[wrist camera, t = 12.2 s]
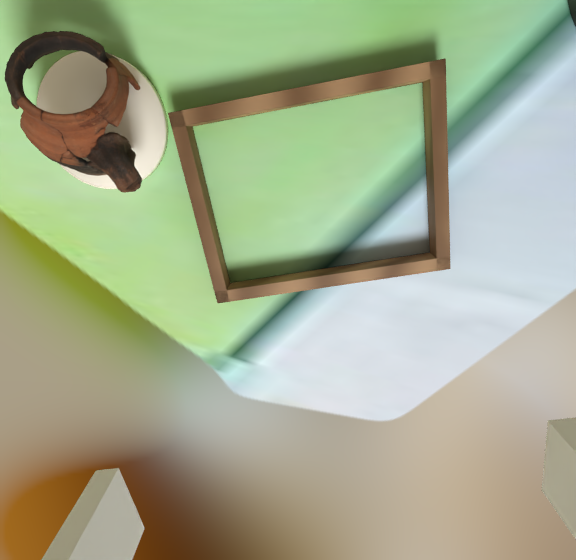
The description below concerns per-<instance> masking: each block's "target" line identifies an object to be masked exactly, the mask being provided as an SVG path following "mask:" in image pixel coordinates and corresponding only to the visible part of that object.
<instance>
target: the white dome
mask: <svg viewBox="0 0 576 560" xmlns="http://www.w3.org/2000/svg"><path fill="white" fill-rule="evenodd" d="M110 55H112V54H110ZM112 56H114V55H112ZM114 57H116V56H114ZM116 58H117V59H118V60H119V62H121V63H123V64H124V65H125V66H126V67H127V69H128V70H129V71H130V72H131V74H132V75H133V76H134V78H135V79H136V81H137V82H138V84H139V86H140V90H136V89H135V88H134V87H133V86H132V85H131V84H130V82H129V95H128V100H127V106H126V109H125V112H124V114H123V117H122V119H121V122H120V124H119V126H118V127H115V126H113V125H111V124H108V125H107V127H106V130H105V134H106V133H109V132H115V133H118V134H120V135H122V136H124V137H126V138H127V139H128V141H129V144H130V145H131V149H132V150H133V151H134V152H135V154H136V157H135V162H134V165H135V168H136V169H137V171H138V172H139V174H140V176H141V177H142V181H143V180H144V179H146V178H147V177H149V176H150V175H151V174H152V173H153V172H154V171H155V170H156V168H157V167H158V166H159V164H160V162H161V161H162V158H163V156H164V154H165V151H166V147H167V142H168V121H167V116H166V111H165V108H164V105H163V103H162V100H161V98H160V96H159V94H158V92H157V91H156V89H155V87H154V86H153V85H152V83H151V82H150V81H149V79H148V78H147V77H146V76H145V75H144V74H143V73H142V72H141V71H139V70H138V69H137V68H136V67H135V66H133V65H132V64H130V63H128V62H127V61H125V60H123V59H121V58H119V57H116ZM107 68H108V67H107V65H106V64H105V63H103V62H101V61H100V60H98V59H97V58H96V57H94V56H92V55H91V54H89V53H87V52H83V51H78V52H74V53H71V54H68V55H66V56H64V57H62V58H61V59H60V60H58V61H57V62H55V63H54V64H53V66H52V67H51V68H50V69H49V70H48V71H47V73H46V74H45V76H44V78H43V80H42V82H41V85H40V88H39V91H38V96H37V107H38V108H40V109H42V110H44V111H47V112H50V113H55V114H72V113H77V112H81V111H84V110H86V109H88V108H91V107H92V106H93V105H94V104H95V103H96V102H97V101H98V100H99V98H100V97H101V96H102V94H103V92H104V90H105V88H106V83H107V75H106V69H107ZM83 159H84V160H86V161H89V159H87V158H83ZM60 165H61V164H60ZM61 166H62V167H63V168H64V169H65V170H66V171H67V172H68V173H70V174H71V175H72V176H74V177H75V178H77V179H79V180H80V181H82V182H84V183H87V184H89V185H92V186H95V187H99V188H105V189H118V188H117V187H116V185H115V184H114V182H113V181H112V180H111V178H110V177H109V176H108V175H101V176H93V175H87V174H84V173H81V172H78V171H76V170H74V169H70V168H68V167H65V166H63V165H61Z"/></svg>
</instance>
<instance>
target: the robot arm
mask: <svg viewBox="0 0 576 560" xmlns="http://www.w3.org/2000/svg"><path fill="white" fill-rule="evenodd" d="M568 2H569V7H570V11H571V15H572V18H573V21H574V23H575V25H576V0H568ZM546 437H547V438H546V448H545V459H544V471H543V483H542V491H543V492H544V494H545V496H546V497H547V498H548V500H549V501H550V503H551V504H552V506H553V507H554V509H555V510H556V512H557V513H558V514H559V516H560V517H561V519H562V520H563V522H564V523H565V525H566V526H567V528H568V529H569V531H570V532H571V533H572V535H573V536H574V538H575V539H576V418H567V419H559V420H549V421H548V424H547V436H546ZM143 531H144V526H143V523H142V521H141V519H140V516H139V514H138V512H137V510H136V507H135V505H134V503H133V500H132V498H131V496H130V494H129V491H128V489H127V487H126V484H125V482H124V480H123V477H122V475H121V473H120V471H119V468H116V469H108V470H99V471H96V472H95V473H94V475H93V477H92V478H91V480H90V482H89V483H88V485H87V487H86V488H85V490H84V491H83V493H82V495H81V496H80V498H79V499H78V501H77V503H76V504H75V506H74V508H73V509H72V511H71V513H70V514H69V516H68V517H67V519H66V521H65V522H64V524H63V526H62V527H61V529H60V530H59V532H58V534H57V535H56V537H55V539H54V540H53V542H52V543H51V545H50V547H49V548H48V550H47V552H46V554H45V555H44V557H43V558H42V560H132V558H133V556H134V554H135V551H136V549H137V546H138V543H139V541H140V538H141V536H142V533H143Z"/></svg>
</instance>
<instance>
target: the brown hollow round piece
mask: <svg viewBox="0 0 576 560" xmlns="http://www.w3.org/2000/svg"><path fill="white" fill-rule="evenodd" d="M59 50H79V51H83V52H87V53H89V54H91V55H92V56H94V57H96V58H97V59H98V60H100V61H101V62H103V63H105V64H106V65H107V67H108V68H107V69H106V75H107V83H106V88H105V90H104V92H103V94H102V96H101V97H100V98H99V100H98V101H97V102H96V103H95V104H94V105H93V106H92V107H91V108H88V109H86V110H84V111H81V112H77V113H72V114H55V113H50V112H47V111H44V110H42V109H40V108H38V107H37V106H35V105H34V104H32V103H31V102H30V100H29V99H28V98H27V97H26V96H25V94H24V91H23V75H24V73H25V71H26V69H27V68H28V69H30V68H31V67H32V66H33V64H34V63H35V62H36V61H37V60H38V59H39V58H41V57H42V56H44V55H47V54H50V53H53V52H56V51H59ZM5 81H6V83H7V87H8V90H9V92H10V94H11V102H12V105H13V106H14V108H16V109H18V108H19V107H21V108H22V109H23V113H22V115H21V117H22V118H21V121H20V122H21V124H20V126H21V128H22V130H23V131H24V133H25V134H26V136H27V138H28V139H29V140H30V141H31V143H32V144H34V145H35V146H36V147H37V148H38V149H39V150H40V151H41V152H42V153H43V154H44V155H45V156H47V157H48V158H49V159H51V160H52V161H55V162H57V163H59V164H61V165H63V166H65V167H68V168H70V169H74V170H76V171H78V172H81V173H84V174H87V175H93V176H101V175H108V176H109V177H110V178H111V180H112V181H113V182H114V184H115V185H116V187H117V188H118V189H119V190H120V191H121V192H133V191H136V190H137V189H139V188H140V186H141V182H142V177H141V176H140V174H139V172H138V171H137V169H136V168H135V165H134V162H135V157H136V154H135V152H134V151H133V150H132V149H131V145H130V144H129V141H128V139H127V138H126V137H124V136H122V135H120V134H118V133H115V132H109V133H106V134H105V130H106V127H107V125H108V124H111V125H113V126H115V127H118V126H119V124H120V122H121V119H122V117H123V114H124V112H125V109H126V106H127V100H128V95H129V82H130V84H131V85H132V86H133V87H134V88H135V89H136V90H140V86H139V84H138V82H137V81H136V79H135V78H134V76H133V75H132V74H131V72H130V71H129V70H128V69H127V67H126V66H125V65H124V64H123V63H121V62H119V60H118V59H117V58H116V57H114V56H112V55H110V54H108V53H107V52H105V50H104V48H103V46H102V45H101V44H99V43H97V42H96V41H94V40H93V39H91V38H88V37H86V36H84V35H81V34H78V33H74V32H68V31H60V32H55V31H53V32H44V33H42V34H39V35H35V36H32V37H31V38H29V39H27V40H25V41H24V42H22V43H21V44H20V45H19V46H18V47H17V48H16V49H15V50H14V53H12V55H11V57H10V59H9V61H8V63H7V67H6V71H5ZM83 158H87V159H89V161H86V160H84V159H83Z"/></svg>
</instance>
